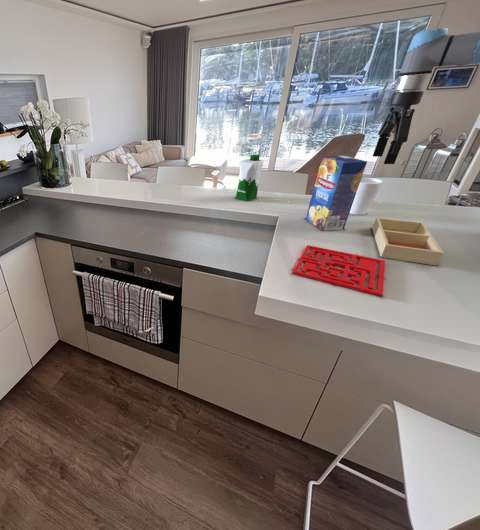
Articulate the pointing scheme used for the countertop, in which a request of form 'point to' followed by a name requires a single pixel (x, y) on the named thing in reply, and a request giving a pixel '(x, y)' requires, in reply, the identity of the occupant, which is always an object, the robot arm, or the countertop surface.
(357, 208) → the foam cup
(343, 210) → the juice carton
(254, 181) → the milk carton
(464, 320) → the countertop surface
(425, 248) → the divided tray
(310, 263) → the maze puzzle
